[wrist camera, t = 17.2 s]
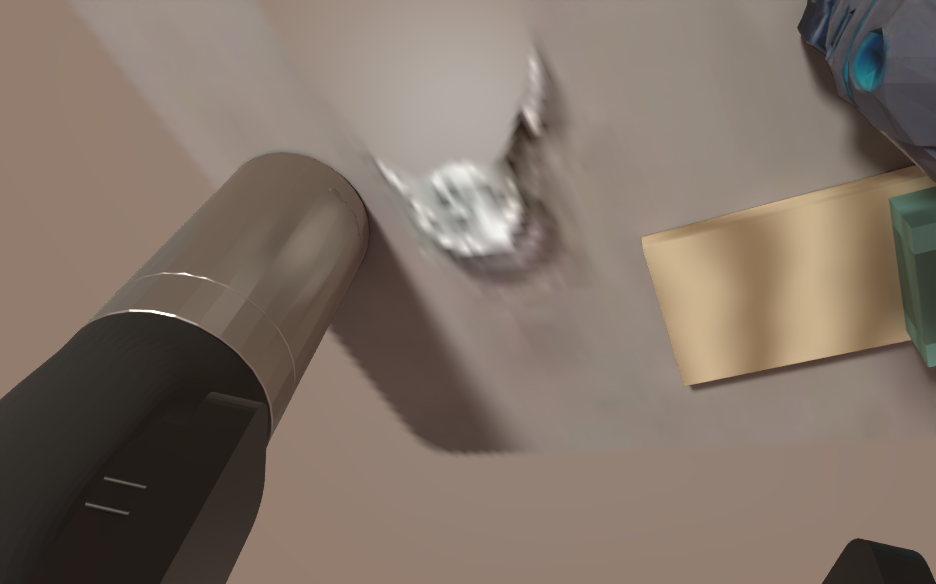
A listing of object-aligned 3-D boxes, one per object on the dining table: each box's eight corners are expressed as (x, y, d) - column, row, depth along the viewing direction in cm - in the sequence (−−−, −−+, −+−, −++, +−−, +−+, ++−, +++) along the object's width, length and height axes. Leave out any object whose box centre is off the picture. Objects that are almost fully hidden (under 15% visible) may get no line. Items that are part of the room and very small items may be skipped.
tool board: (682, 371, 50) (690, 423, 46) (641, 237, 46) (646, 280, 42) (1081, 287, 44) (1133, 338, 40) (1079, 121, 39) (1138, 159, 35)
